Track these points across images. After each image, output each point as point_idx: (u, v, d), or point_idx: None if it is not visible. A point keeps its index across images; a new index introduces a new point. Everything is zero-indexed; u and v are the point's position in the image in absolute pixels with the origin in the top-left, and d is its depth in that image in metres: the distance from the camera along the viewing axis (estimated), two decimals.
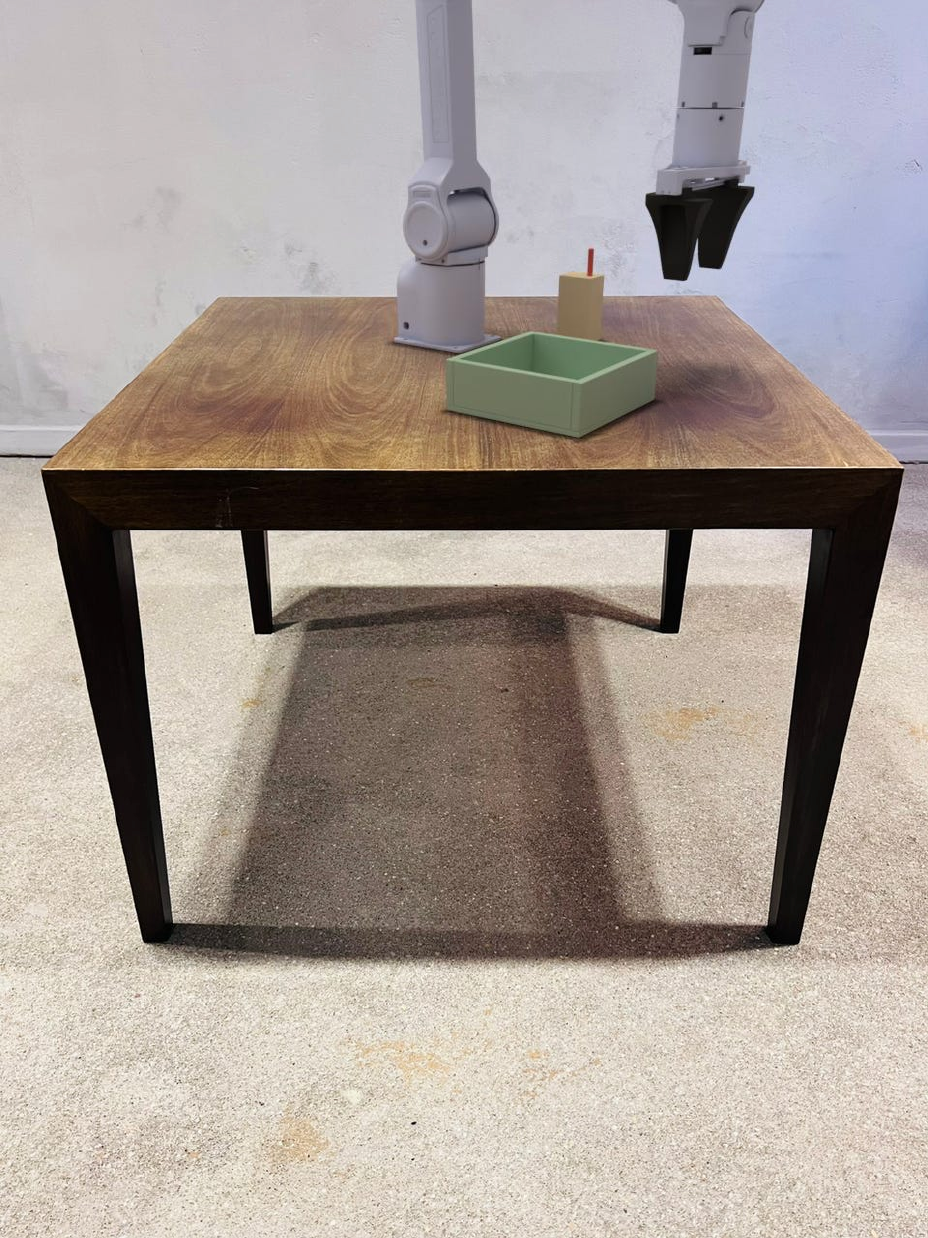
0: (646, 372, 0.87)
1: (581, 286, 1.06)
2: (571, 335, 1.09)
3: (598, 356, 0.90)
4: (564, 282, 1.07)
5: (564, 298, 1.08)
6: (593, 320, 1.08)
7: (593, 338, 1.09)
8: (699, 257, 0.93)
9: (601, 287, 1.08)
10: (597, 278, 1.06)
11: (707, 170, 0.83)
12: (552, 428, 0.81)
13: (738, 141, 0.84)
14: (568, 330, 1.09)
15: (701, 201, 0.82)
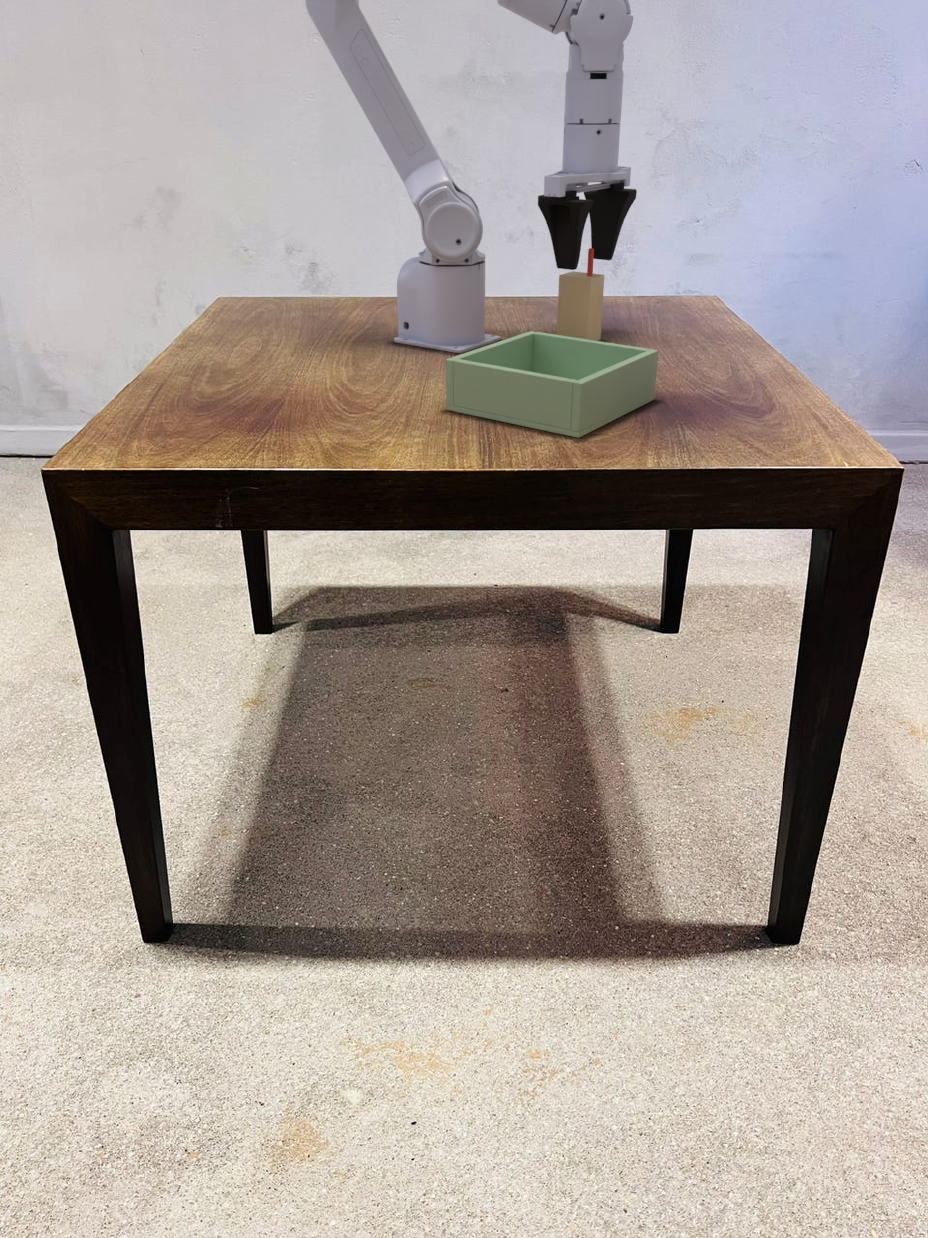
0: (646, 372, 0.87)
1: (581, 286, 1.06)
2: (571, 335, 1.09)
3: (598, 356, 0.90)
4: (564, 282, 1.07)
5: (564, 298, 1.08)
6: (593, 320, 1.08)
7: (593, 338, 1.09)
8: None
9: (601, 287, 1.08)
10: (597, 278, 1.06)
11: (588, 175, 0.99)
12: (552, 428, 0.81)
13: (615, 151, 1.00)
14: (568, 330, 1.09)
15: (581, 202, 0.98)
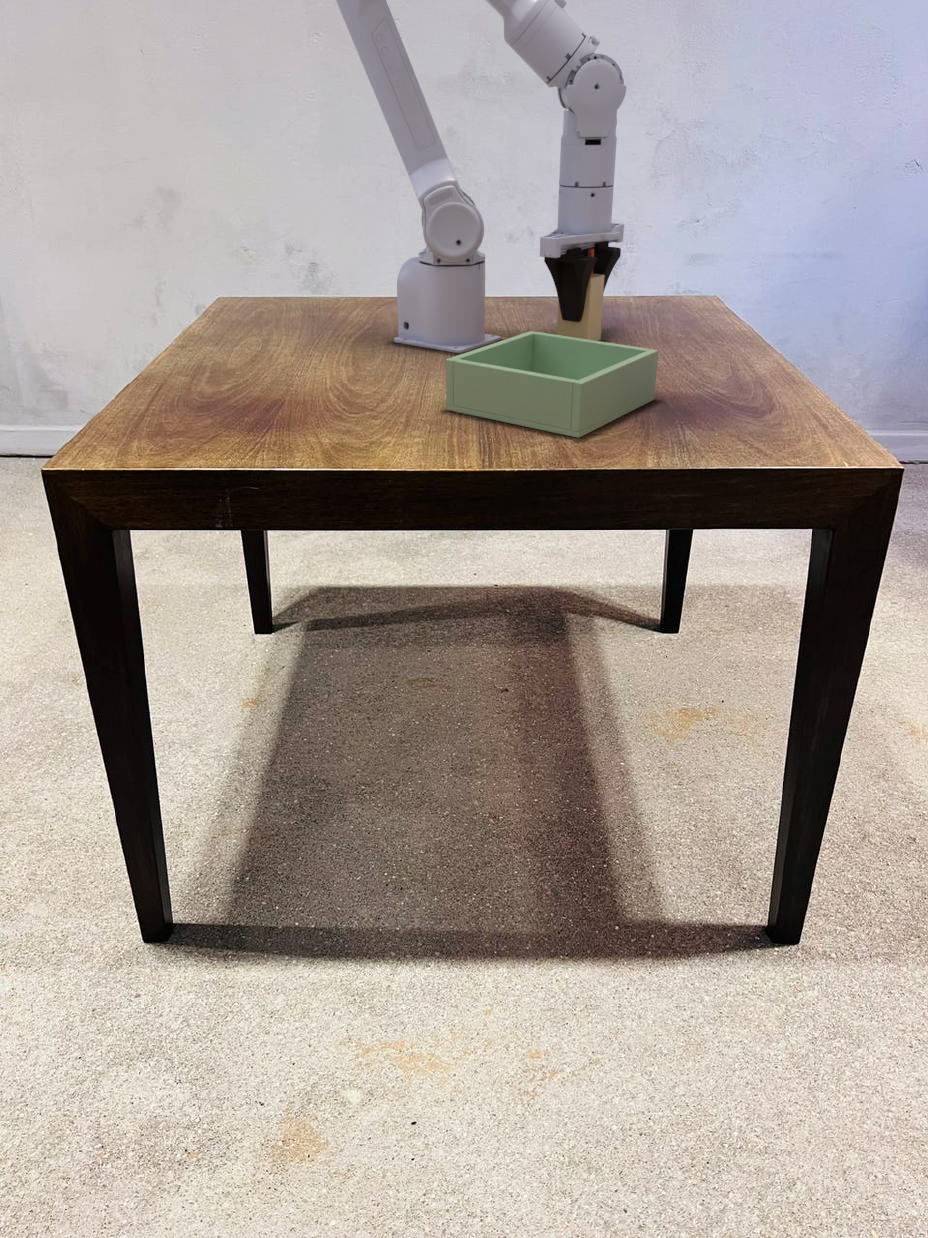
0: (646, 372, 0.87)
1: None
2: (571, 335, 1.09)
3: (598, 356, 0.90)
4: None
5: None
6: (593, 319, 1.08)
7: (593, 338, 1.09)
8: None
9: (601, 287, 1.08)
10: (597, 278, 1.06)
11: (582, 236, 1.02)
12: (552, 428, 0.81)
13: (609, 212, 1.03)
14: (568, 330, 1.09)
15: (586, 260, 1.02)
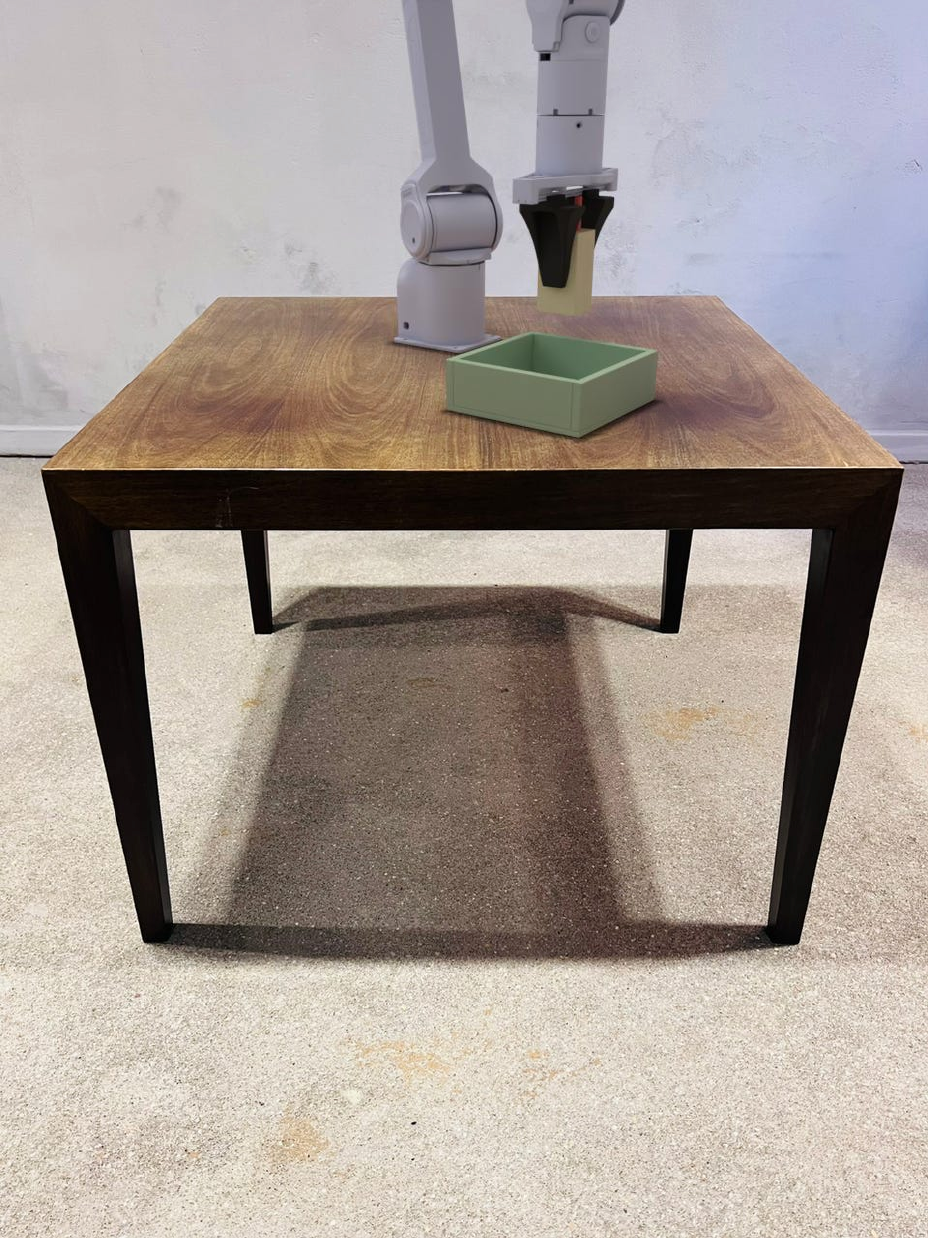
0: (646, 372, 0.87)
1: None
2: (555, 305, 0.89)
3: (598, 356, 0.90)
4: None
5: None
6: (581, 286, 0.87)
7: (582, 309, 0.89)
8: None
9: (591, 245, 0.87)
10: (586, 233, 0.86)
11: (566, 178, 0.81)
12: (552, 428, 0.81)
13: (599, 149, 0.82)
14: (551, 299, 0.89)
15: (571, 208, 0.82)
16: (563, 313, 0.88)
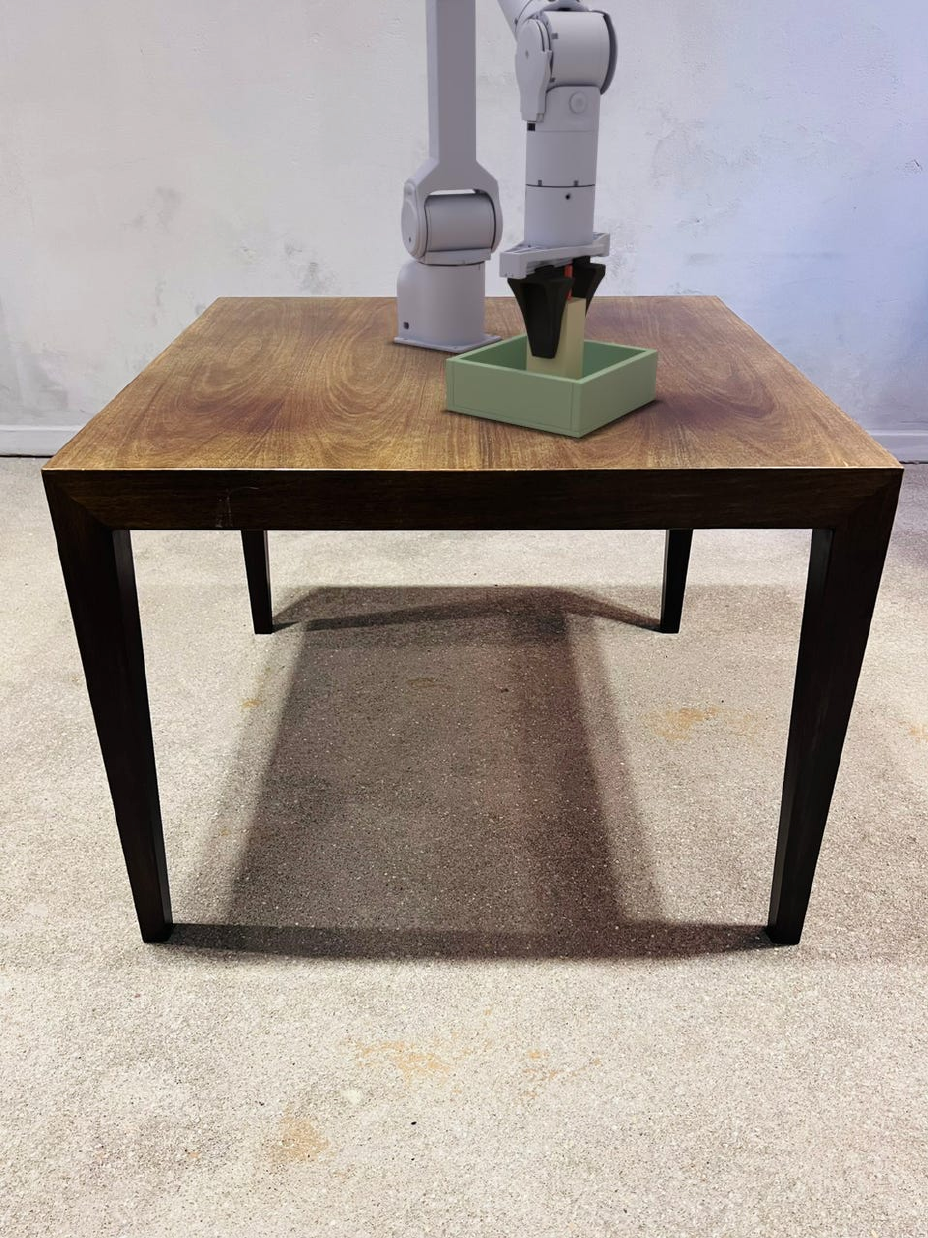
0: (646, 372, 0.87)
1: None
2: None
3: (598, 356, 0.90)
4: None
5: None
6: (572, 356, 0.85)
7: None
8: None
9: (582, 315, 0.84)
10: (576, 303, 0.83)
11: (554, 251, 0.78)
12: (552, 428, 0.81)
13: (589, 219, 0.79)
14: (541, 369, 0.86)
15: (560, 281, 0.79)
16: None
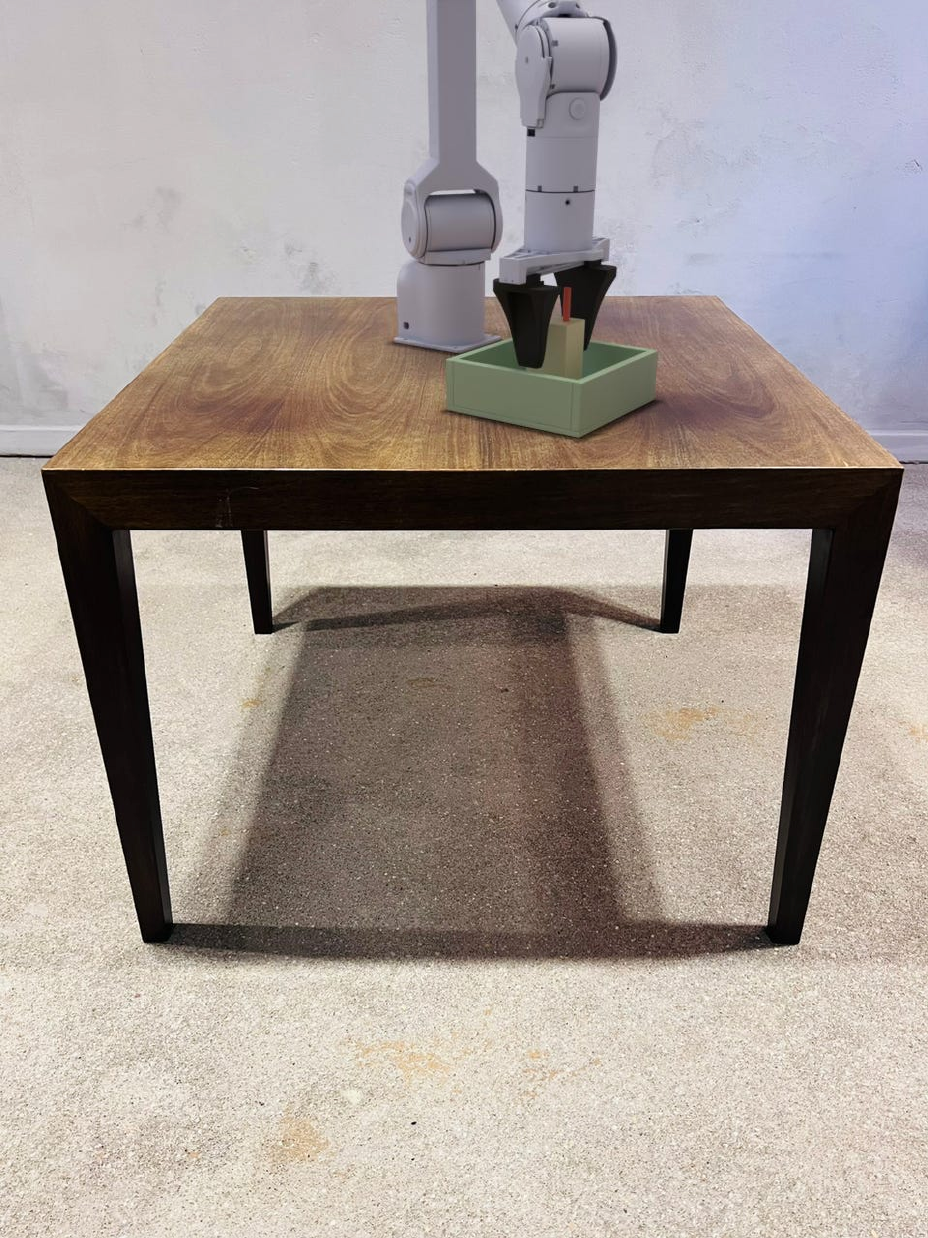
0: (646, 372, 0.87)
1: (555, 335, 0.84)
2: None
3: (598, 356, 0.90)
4: None
5: None
6: (571, 376, 0.86)
7: None
8: None
9: (581, 336, 0.85)
10: (575, 324, 0.84)
11: (554, 256, 0.79)
12: (552, 428, 0.81)
13: (589, 225, 0.80)
14: None
15: (546, 290, 0.78)
16: None
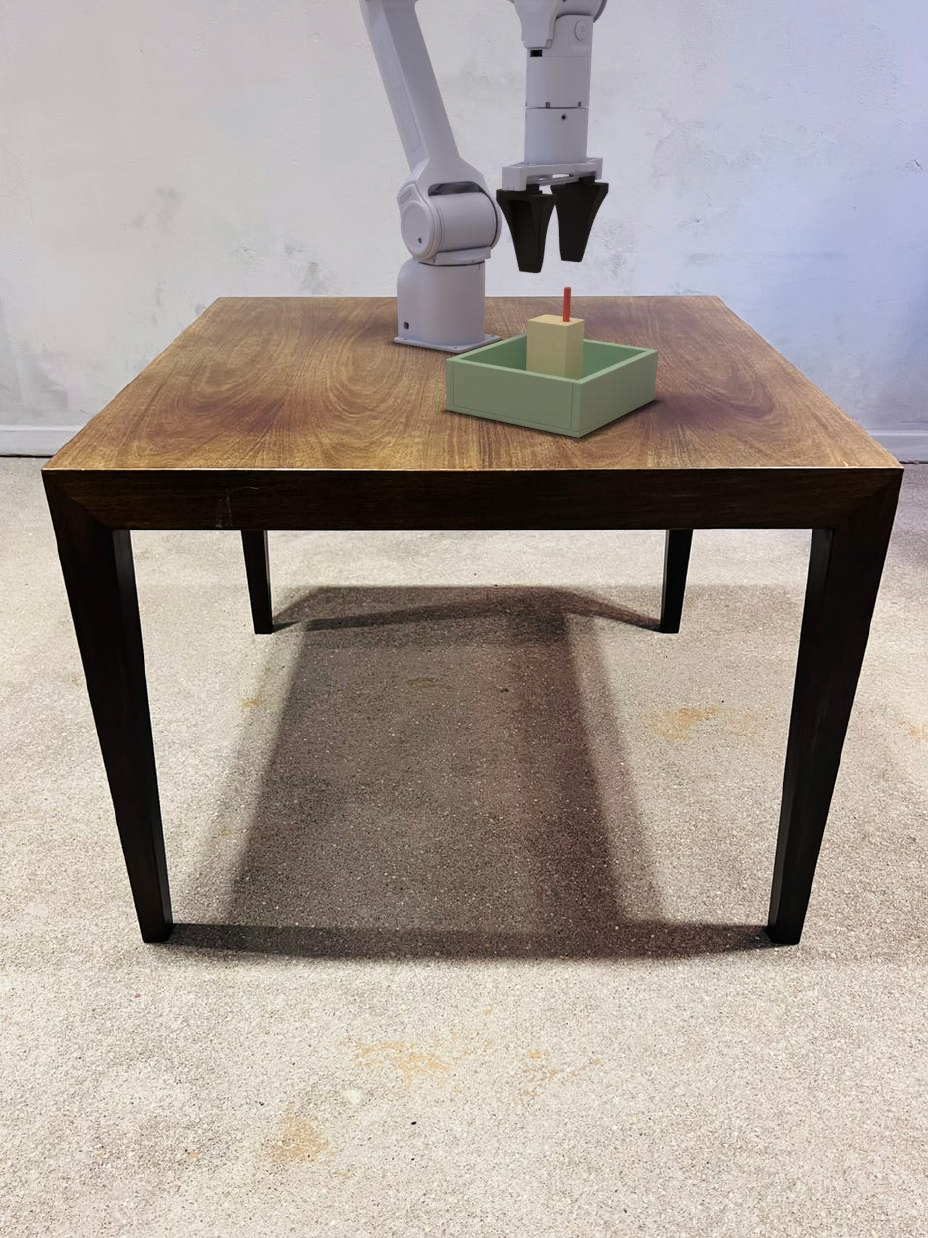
0: (646, 372, 0.87)
1: (555, 335, 0.84)
2: None
3: (598, 356, 0.90)
4: (534, 329, 0.85)
5: (534, 349, 0.85)
6: (571, 376, 0.86)
7: None
8: (560, 251, 0.97)
9: (581, 336, 0.85)
10: (575, 324, 0.84)
11: (552, 167, 0.87)
12: (552, 428, 0.81)
13: (583, 139, 0.88)
14: None
15: (544, 196, 0.86)
16: None
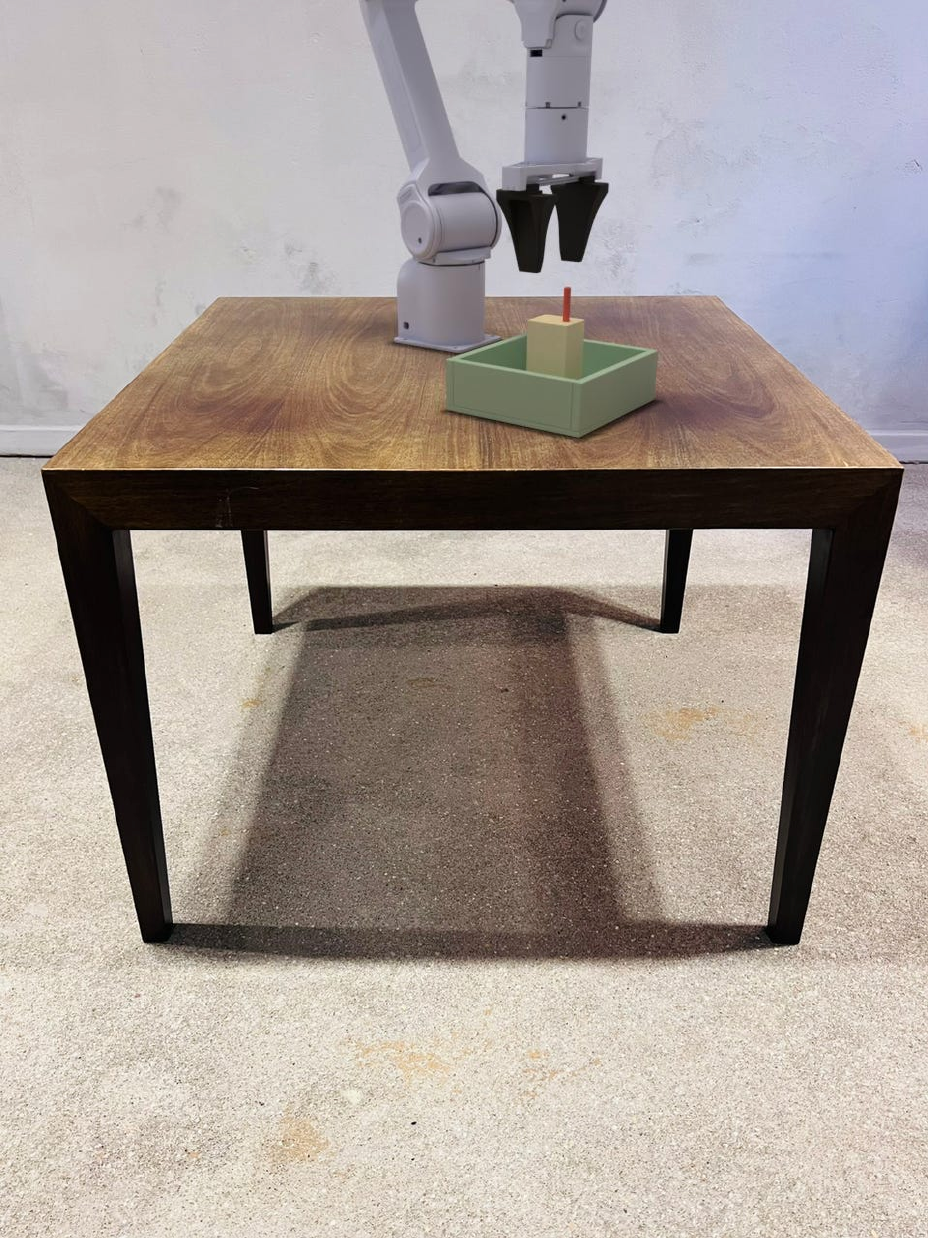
0: (646, 372, 0.87)
1: (555, 335, 0.84)
2: None
3: (598, 356, 0.90)
4: (534, 329, 0.85)
5: (534, 349, 0.85)
6: (571, 376, 0.86)
7: None
8: (560, 251, 0.97)
9: (581, 336, 0.85)
10: (575, 324, 0.84)
11: (552, 166, 0.87)
12: (552, 428, 0.81)
13: (583, 139, 0.88)
14: None
15: (544, 196, 0.86)
16: None
